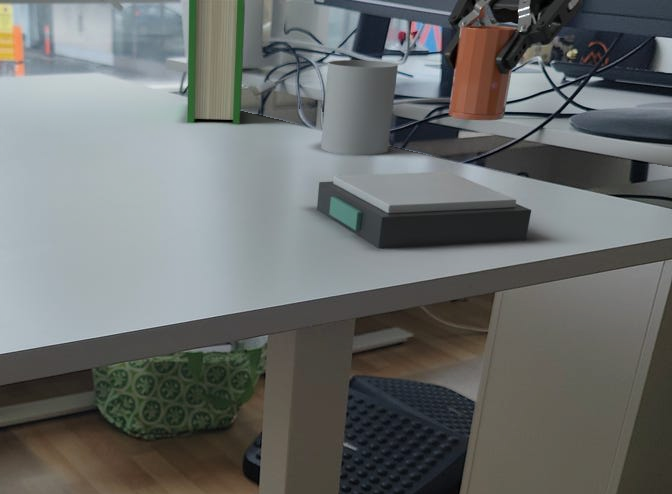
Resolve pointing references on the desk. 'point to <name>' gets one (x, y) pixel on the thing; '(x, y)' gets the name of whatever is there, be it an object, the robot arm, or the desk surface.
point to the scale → (421, 210)
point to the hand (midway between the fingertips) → (474, 65)
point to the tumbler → (480, 74)
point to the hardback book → (215, 59)
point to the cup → (358, 106)
